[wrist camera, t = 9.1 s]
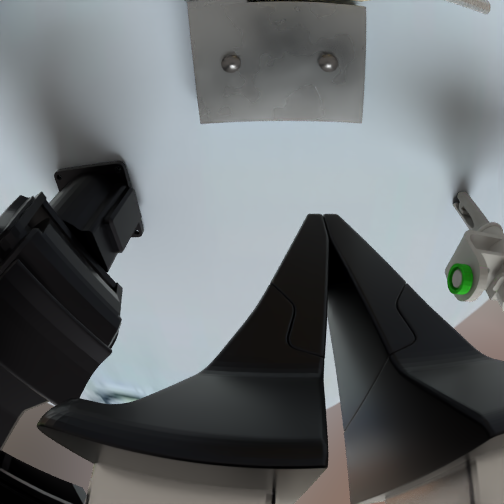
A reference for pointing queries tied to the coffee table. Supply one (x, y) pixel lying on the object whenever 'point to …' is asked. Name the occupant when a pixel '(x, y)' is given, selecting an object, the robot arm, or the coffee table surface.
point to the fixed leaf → (281, 59)
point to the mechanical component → (477, 256)
